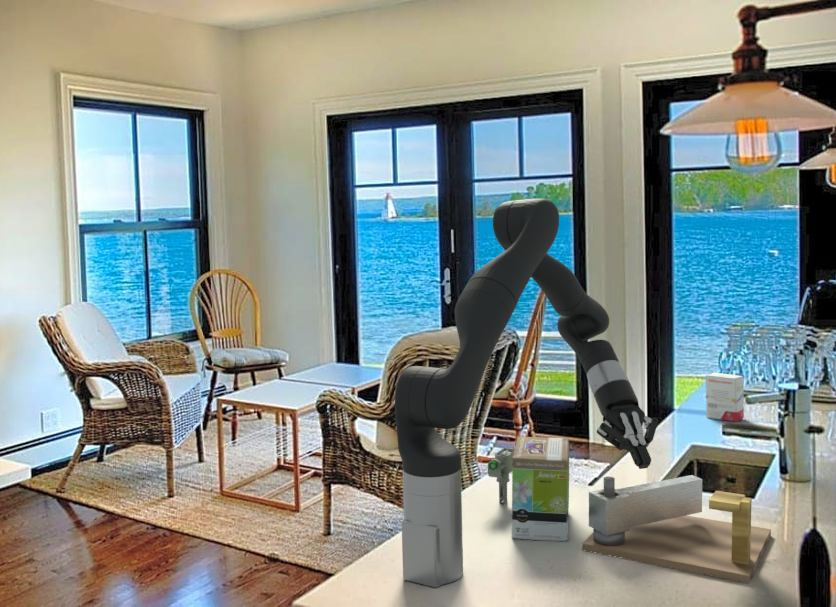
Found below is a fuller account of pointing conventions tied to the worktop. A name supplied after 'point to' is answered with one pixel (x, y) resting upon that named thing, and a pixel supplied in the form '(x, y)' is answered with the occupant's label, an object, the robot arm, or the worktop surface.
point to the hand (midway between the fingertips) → (645, 466)
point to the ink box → (724, 397)
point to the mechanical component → (502, 470)
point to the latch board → (691, 540)
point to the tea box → (540, 488)
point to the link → (644, 504)
